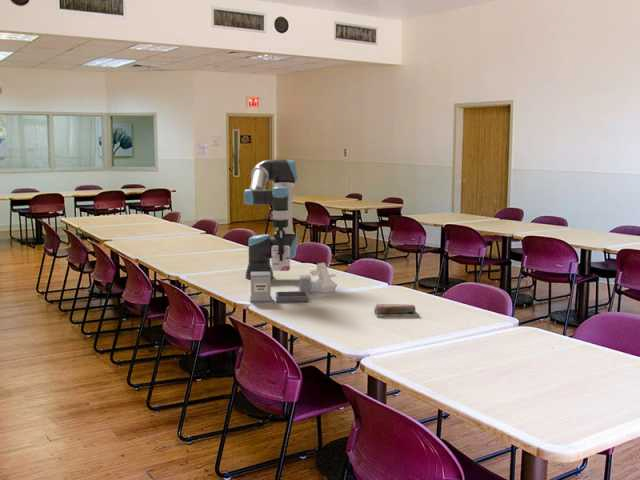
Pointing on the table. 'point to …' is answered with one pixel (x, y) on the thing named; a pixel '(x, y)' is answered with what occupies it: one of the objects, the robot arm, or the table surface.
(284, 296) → the tray
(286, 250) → the ink box
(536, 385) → the table surface
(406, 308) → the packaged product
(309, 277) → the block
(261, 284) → the unit
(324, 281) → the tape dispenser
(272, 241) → the robot arm
